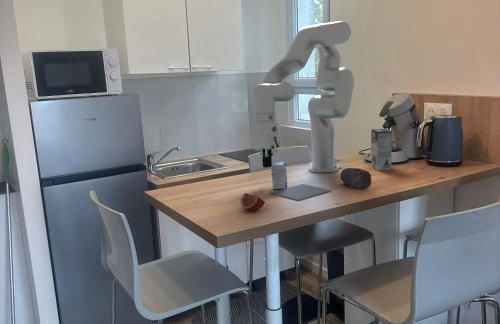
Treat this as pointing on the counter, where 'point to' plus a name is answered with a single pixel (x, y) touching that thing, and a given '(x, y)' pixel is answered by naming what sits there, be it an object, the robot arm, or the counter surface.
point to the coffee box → (381, 149)
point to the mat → (300, 192)
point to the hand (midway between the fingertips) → (267, 166)
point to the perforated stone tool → (356, 178)
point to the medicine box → (279, 175)
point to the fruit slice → (251, 202)
